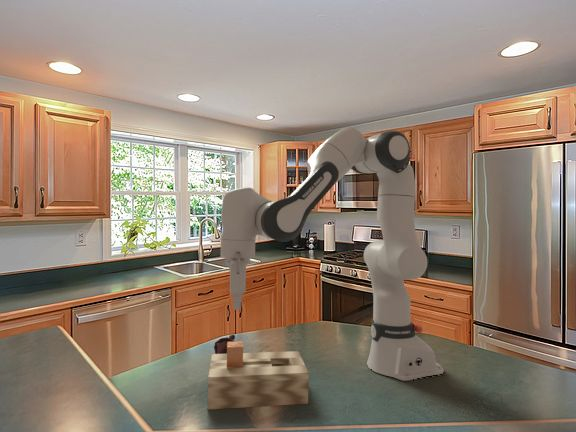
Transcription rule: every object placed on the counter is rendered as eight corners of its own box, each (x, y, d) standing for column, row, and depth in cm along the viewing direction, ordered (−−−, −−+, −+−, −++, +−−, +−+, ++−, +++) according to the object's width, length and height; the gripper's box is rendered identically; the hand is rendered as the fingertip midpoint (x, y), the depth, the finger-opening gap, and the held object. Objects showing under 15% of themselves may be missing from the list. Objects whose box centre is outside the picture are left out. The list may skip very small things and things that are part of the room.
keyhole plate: (297, 377, 98) (298, 351, 98) (308, 403, 84) (308, 372, 84) (211, 381, 94) (212, 354, 94) (207, 409, 80) (208, 377, 80)
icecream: (232, 348, 102) (245, 335, 117) (210, 339, 103) (224, 329, 118) (226, 371, 102) (239, 356, 117) (203, 362, 103) (219, 348, 118)
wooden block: (241, 375, 91) (242, 341, 91) (242, 382, 87) (243, 346, 87) (226, 376, 90) (227, 341, 90) (226, 383, 86) (227, 347, 86)
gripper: (252, 254, 79) (251, 315, 79) (248, 247, 99) (247, 295, 99) (224, 254, 78) (223, 315, 78) (226, 247, 98) (225, 296, 98)
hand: (236, 304), depth 89 cm, fingers open, 8 cm apart
